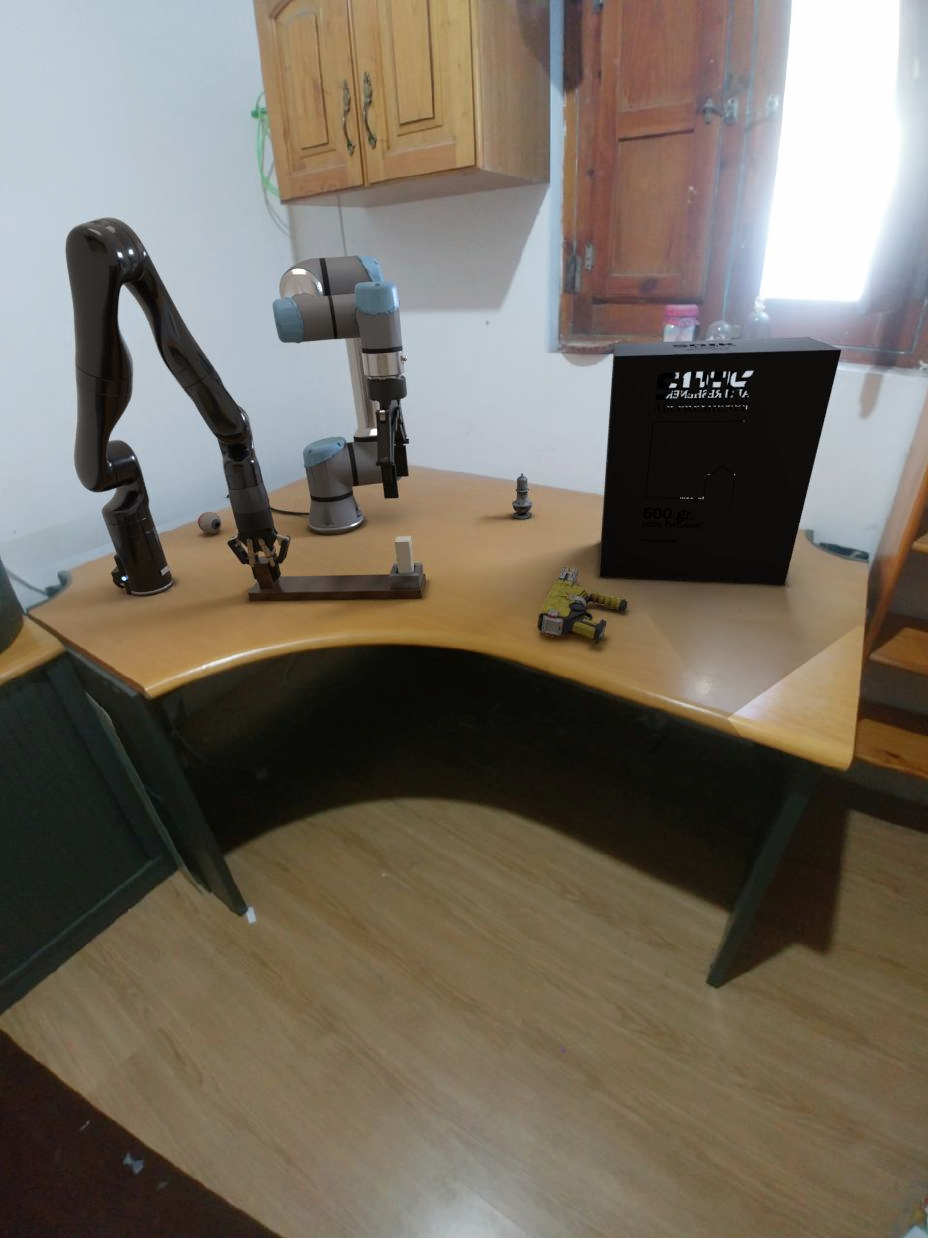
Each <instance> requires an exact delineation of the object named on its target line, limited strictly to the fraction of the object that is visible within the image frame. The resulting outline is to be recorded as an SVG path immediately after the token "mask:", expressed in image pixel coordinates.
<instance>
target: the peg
mask: <svg viewBox="0 0 928 1238" xmlns="http://www.w3.org/2000/svg"><path fill="white" fill-rule="evenodd" d="M394 547H395V556H396V557H395V558H396V563H397V565H398V574H403V573H414V563H415V561H414V554H413V553H414V552H413V542H412V536H410V535H403V536H402V535H398V536H396V537H395V540H394Z"/></svg>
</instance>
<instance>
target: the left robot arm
mask: <svg viewBox="0 0 928 1238" xmlns="http://www.w3.org/2000/svg"><path fill="white" fill-rule="evenodd" d="M64 248H65V249H64V250H65V251H64V253H65V261H66V269H67V274H68V275H67V276H68V281H69V287H70V295H71V302H72V309H73V310H72V311H73V333H74V349H75V350H74V355H75V356H74V362H75V363H74V368H75V386H76V429H75V430H76V431H75V438H74V449H73V462H74V464H73V465H74V469H75V473H76V476H77V478H78V480H79V482H80V483H81V485H82V486H83V487H84V489H86V490H88V491H90V492H92V493H99V494H100V493H104V492H109V491H112V490H115V492H114V493H113V496H112V497H111V498H110V500H109V501H108V502H107V503H106V504H104V505H103V507H102V508H101V515H102V518H103V521H104V523H105V524H104V525H105V526H106V528H107V532H108V535H109V537H110V540H111V542H112V545H113V548H114V550H115V554H114V555H113V559H114V562H115V565H116V566H115V567H114V568H113V569H112V570H111V572H110V575H111V577H112V582H113V584H114V585H115V586H116V587H117V588H119V589H121V590H124V589H125V591H126V594H127V595H132V596H136V597H145V596H152V595H157V594H159V593H163V592H165V591H167V590H168V589H170V588H171V587H172V586H173V585H174V583H175V581H174V578H173V576H172V573H171V566H170V564H169V563H168V561H167V558H166V554H165V552H164V549H163V546H162V542H161V539H160V536H159V533H158V530H157V526H156V524H155V522H154V518H153V515H152V512H151V509H150V497H149V492H148V489H147V486H146V483H145V478H144V475H143V470H142V468H141V464H140V461H139V458H138V456H137V455H136V452H135V450H134V449H133V448H132V447H131V446H130V444H129V443H127V442H126V441H124V440H122V439H112V440H110V439H111V434H112V433H113V431H114V429H115V427H116V425H117V424H118V422H119V421H120V419H121V418H122V416H123V415H124V413H125V411H126V410H127V408H128V406H129V404H130V402H131V399H132V397H133V390H134V361H133V356H132V353H131V351H130V348H129V346H128V344H127V342H126V340H125V337H124V336H123V333H122V331H121V327H120V323H119V305H120V295H121V290H122V286H124V287H125V288H126V290H128V292H129V293H130V294H131V295H132V297H134V299H135V301H136V303H137V304H138V306H139V307H140V309H141V310H142V312H143V314H144V316H145V318H146V321H147V323H148V325H149V328H150V331H151V333H152V337H153V340H154V342H155V343H154V344H155V345H156V349H157V351H158V354H159V355H160V358H161V360H162V362H163V364H164V365H165V367H166V368H167V370H168V371H169V373H170V374H171V376H172V377H173V378H174V379H175V381H176V382H177V384H178V385H179V386H180V388H181V389H182V390H183V391H184V393H185V394H186V395H187V397H188V398H189V399H190V401H192V403H193V404H194V406H195V409H197V411H198V413H199V415H200V416H201V418H202V419H203V421H204V422H205V424H206V425H207V427H208V429H209V430H210V432H211V433H212V434H213V436H214V437H215V438H216V440H217V443H218V446H219V451H220V454H221V458H222V459H221V460H222V469H223V474H224V478H225V482H226V486H227V490H228V491H227V492H228V494H229V498H228V499H229V504H230V506H231V511H232V514H233V519H234V521H235V527H236V529H237V534H236V536H232V537H231V538H230V539H229V540H228V541H227V543H226V545H227V546H228V547H229V548H230V550H231V551H232V552H233V554H234V555H235V556H236V558H237V559H238V561H239V562H240V564H241V565H248V566H249V567H250V568H251V572H252V576H253V578H254V580H256V582H258V579H257V575H256V571H255V567H254V563H255V562H256V561H257V560H258V558H259V557H260V556H259V555H260V552H261V553H263V554H264V555H263V556H265V557H266V558H267V559H268V561H269V563H270V565H271V566H270V570H271V574H272V578H273V581H277V580H278V579H279V578H280V577H281V576H282V573H281V567H280V565H281V564H283V563H284V561H285V560H286V559H287V556H288V553H289V548H290V543H291V540H292V537H291V536H290V535H289V534H287V535H285V536H284V535H282V534H280V533H279V532H278V530H277V529H276V528H275V523H274V517H273V513H272V510H271V508H270V507H271V504H270V498H269V494H268V492H267V488H266V486H265V482H264V478H263V475H262V474H263V473H262V469H261V465H260V462H259V460H258V457H257V453H256V448H255V444H254V443H255V442H254V437H253V431H252V426H251V425H252V424H251V420H250V417H249V414H248V413H247V411H246V409H244V408H243V407H242V406H241V405H239V404H238V403H237V402H236V401H235V399H234V398H233V396H232V395H231V393H229V391H228V390H227V388H226V387H225V385H224V382H223V379H222V377H221V375H220V374H219V372H218V371H217V370H216V368H215V367H214V365H213V364H212V362H211V361H210V359H209V358H208V356H207V355H206V353H205V351H203V349H202V348H201V346H200V345H199V343H198V342H197V340H196V339H195V337H194V335H193V334H192V332H191V331H190V330H189V328H188V326H187V324H186V323H185V321H184V319H183V318H182V317H183V316H181V314H180V312H179V310H178V308H177V307H176V305H175V303H174V301H173V299H172V297H171V295H170V293H169V291H168V289H167V287H166V286H165V284H164V281H163V280H162V278H161V276H160V274H159V271H158V270H157V268H156V266H155V264H154V262H153V260H152V257H150V254H149V252H148V251H147V249H146V247H145V245H144V243H143V242H142V240H141V238H140V237H139V235H138V234H137V233H136V232H135V231H134V229H133V228H132V227H131V226H130V225H129V224H128V223H126V222H124V221H123V220H121V219H119V218H116V217H108V216H107V217H106V216H105V217H100V218H96V219H94V220H90V221H86V222H83V223H80V224H78V225H75V226H74V227H72V229H71V230H70V231H69V232H68V233H67V236H66V239H65V247H64ZM276 541H277V543H278V546H279V550H278V553H277V549H276V547H275V543H276ZM242 544H243V545H244V546H245V547H246V548H247V550H246V549H245V547H244V546H243V545H242Z"/></svg>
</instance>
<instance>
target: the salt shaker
mask: <svg viewBox="0 0 928 1238" xmlns="http://www.w3.org/2000/svg"><path fill="white" fill-rule="evenodd" d="M529 490H530V489H529V488H528V477H527V476H525V475H524V472H521V474H520V476H518V477H517V478H516V488H515V492H516V498H515V500H514V501H511V505H512V509H513V510H514V513H512V517H513V518H515V519H518V520H519V519H521V520H523V519H529V518H532V516H533V514H532V513H531V512H530V511H531V509H532V506H533V504H534V502H533V501H532V500H530V499H529Z"/></svg>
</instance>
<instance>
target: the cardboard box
mask: <svg viewBox="0 0 928 1238" xmlns="http://www.w3.org/2000/svg"><path fill="white" fill-rule="evenodd" d="M612 354H613V355H612V366H611V367H612V369H611V383H610V385H611V386H610V397H609V398H610V399H609V413H608V427H607V428H608V429H607V443H606V459H605V471H604V472H605V473H604V486H603V488H604V489H603V501H602V502H603V504H602V516H601V517H602V518H601V533H600V555H599V578H614V579H615V578H616V579H617V578H618V579H636V580H637V579H638V580H661V581H662V580H663V581H681V582H682V581H684V582H689V581H690V582H707V583H708V582H709V583H728V584H731V583H732V584H752V585H774V586H777V585H778V586H785V585H786V581H787V577H788V573H789V570H790V565H791V561H792V557H793V552H794V548H795V544H796V540H797V536H798V532H799V528H800V523H801V520H802V515H803V511H804V507H805V503H806V500H807V499H806V498H807V495H808V491H809V487H810V483H811V479H812V474H813V470H814V465H815V461H816V457H817V453H818V449H819V444H820V441H821V437H822V432H823V428H824V425H825V420H826V416H827V411H828V408H829V405H830V400H831V399H830V398H831V395H832V390H833V387H834V383H835V379H836V375H837V370H838V366H839V361H840V358H841V354H842V349H841V348H838V347H836V346H833V345H831V344H828V343H825V342H822V341H819V340H817V339H815V338H812V337H809V336H801V337H798V336H797V337H771V338H769V337H767V338H743V339H742V338H741V339H739V338H737V339H713V340H712V339H711V340H709V339H708V340H706V339H705V340H683V341H682V340H681V341H679V340H678V341H650V342H649V341H648V342H647V341H645V342H621V343H620V342H618V343H616V342H615V343H613V353H612ZM746 372H752V373H751V375H749V376H745V374H746ZM688 373H690V375H689V376H690V377H689V384H688V386H684V382H685V378H684V377H685V375H686V374H688ZM698 373H702V377H697V374H698ZM712 373H713V376H712ZM724 373H725V374H724ZM677 374H678V376H677ZM734 374H735V378H734V383H740V382H741V383H743V382H744V384H743V386H741V385H740V386H733V385H732V377H733V375H734ZM724 375H725V376H724ZM676 377H677V378H676ZM701 383H704V384H703V386H701ZM714 383H719V386H714ZM673 384H675V385H676V386H674V387H670V386H671V385H673Z"/></svg>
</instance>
